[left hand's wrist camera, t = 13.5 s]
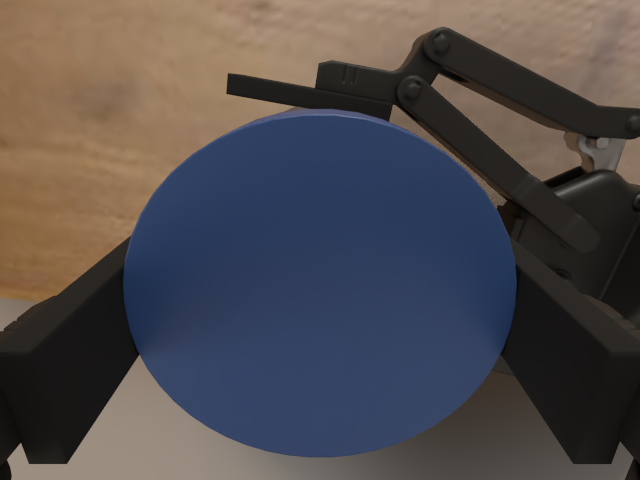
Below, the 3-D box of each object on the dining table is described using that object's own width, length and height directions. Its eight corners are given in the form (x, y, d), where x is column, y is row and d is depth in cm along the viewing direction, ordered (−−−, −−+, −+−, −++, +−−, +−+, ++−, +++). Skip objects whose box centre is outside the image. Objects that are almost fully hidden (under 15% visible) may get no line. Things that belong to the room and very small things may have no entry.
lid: (96, 151, 11) (52, 165, 9) (479, 69, 10) (513, 67, 8) (209, 431, 14) (194, 479, 13) (495, 387, 14) (520, 431, 12)
